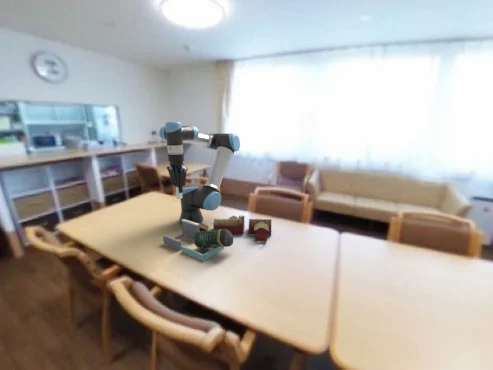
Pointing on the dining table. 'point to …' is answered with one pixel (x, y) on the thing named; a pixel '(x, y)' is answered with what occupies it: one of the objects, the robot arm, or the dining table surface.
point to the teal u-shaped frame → (199, 255)
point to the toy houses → (242, 226)
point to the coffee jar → (213, 238)
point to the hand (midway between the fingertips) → (179, 198)
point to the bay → (188, 230)
